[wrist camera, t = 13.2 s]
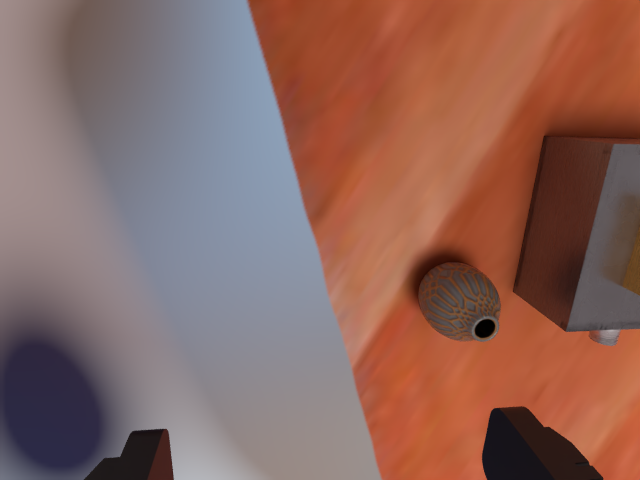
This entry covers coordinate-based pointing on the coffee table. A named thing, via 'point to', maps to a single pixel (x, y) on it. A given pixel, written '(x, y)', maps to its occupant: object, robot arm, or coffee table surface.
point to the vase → (460, 302)
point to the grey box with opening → (584, 236)
